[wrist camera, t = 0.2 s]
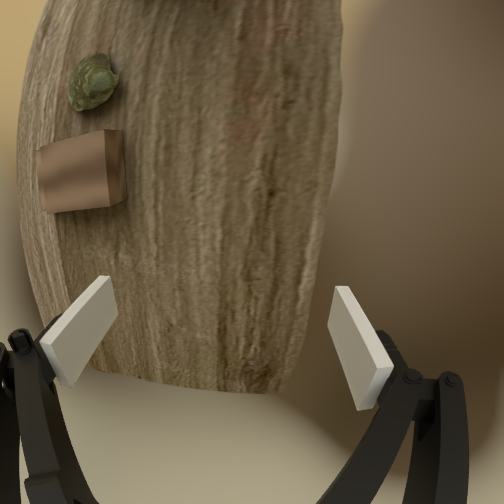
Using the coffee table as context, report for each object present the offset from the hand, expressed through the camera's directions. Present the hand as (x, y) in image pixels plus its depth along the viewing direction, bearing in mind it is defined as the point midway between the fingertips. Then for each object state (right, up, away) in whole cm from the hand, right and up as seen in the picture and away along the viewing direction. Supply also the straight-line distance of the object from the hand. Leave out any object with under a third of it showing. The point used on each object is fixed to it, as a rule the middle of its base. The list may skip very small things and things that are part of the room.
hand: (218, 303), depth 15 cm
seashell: (-24, +31, +18) cm, 43 cm away
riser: (-27, +16, +23) cm, 39 cm away
